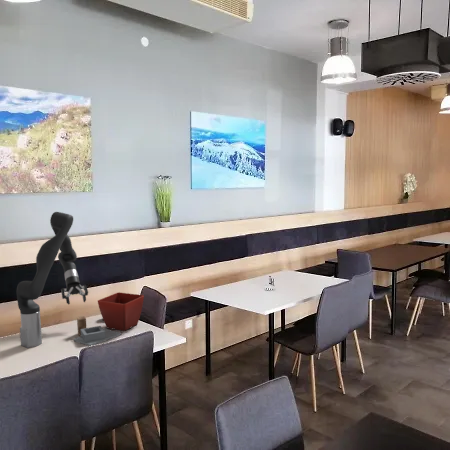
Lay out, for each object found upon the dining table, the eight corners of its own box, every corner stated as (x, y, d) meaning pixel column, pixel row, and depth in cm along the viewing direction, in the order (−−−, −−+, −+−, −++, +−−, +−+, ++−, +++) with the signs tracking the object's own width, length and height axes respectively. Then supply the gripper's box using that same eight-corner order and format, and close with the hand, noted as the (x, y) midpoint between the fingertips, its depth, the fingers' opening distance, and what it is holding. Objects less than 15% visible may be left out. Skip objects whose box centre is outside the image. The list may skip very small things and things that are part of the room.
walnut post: (79, 335, 244) (78, 319, 243) (77, 333, 248) (77, 317, 247) (86, 334, 246) (85, 318, 245) (85, 332, 250) (84, 316, 249)
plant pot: (125, 333, 246) (124, 303, 244) (98, 329, 254) (96, 300, 252) (145, 323, 263) (144, 295, 261) (119, 319, 271) (118, 292, 269)
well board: (90, 346, 228) (89, 336, 228) (73, 340, 237) (73, 331, 236) (121, 334, 244) (120, 325, 244) (104, 329, 253) (103, 321, 252)
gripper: (59, 277, 258) (64, 301, 249) (85, 273, 265) (90, 297, 256) (58, 284, 263) (63, 308, 255) (83, 280, 270) (88, 304, 261)
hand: (76, 302), depth 255 cm, fingers open, 8 cm apart
